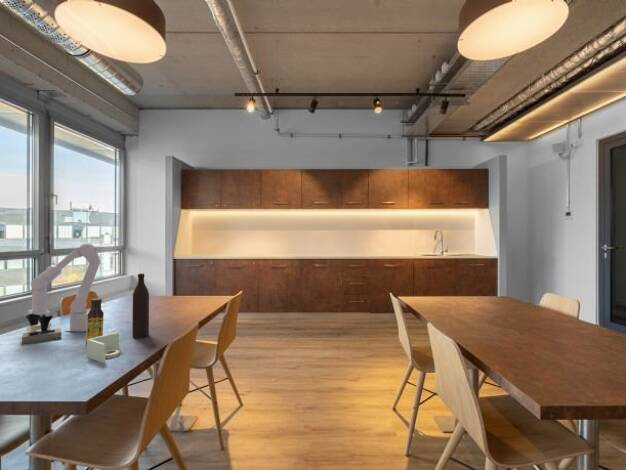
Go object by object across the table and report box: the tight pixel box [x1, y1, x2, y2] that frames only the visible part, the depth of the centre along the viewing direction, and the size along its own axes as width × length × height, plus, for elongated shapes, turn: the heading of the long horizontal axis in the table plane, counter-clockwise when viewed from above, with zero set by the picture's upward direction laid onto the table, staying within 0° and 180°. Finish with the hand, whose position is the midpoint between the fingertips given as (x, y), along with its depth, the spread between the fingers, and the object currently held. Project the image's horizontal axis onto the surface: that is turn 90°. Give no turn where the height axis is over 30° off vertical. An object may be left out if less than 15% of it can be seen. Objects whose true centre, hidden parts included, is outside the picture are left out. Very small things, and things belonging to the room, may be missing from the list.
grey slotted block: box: [21, 327, 62, 345], centre depth 158 cm, size 14×8×3 cm, turn 129°
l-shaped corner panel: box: [86, 331, 121, 364], centre depth 137 cm, size 12×12×8 cm
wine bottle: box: [131, 273, 150, 339], centre depth 163 cm, size 7×7×30 cm
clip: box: [26, 322, 52, 333], centre depth 166 cm, size 9×3×4 cm, turn 159°
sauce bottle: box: [85, 297, 105, 345], centre depth 152 cm, size 6×6×20 cm
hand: (39, 329), depth 166 cm, fingers open, 7 cm apart
